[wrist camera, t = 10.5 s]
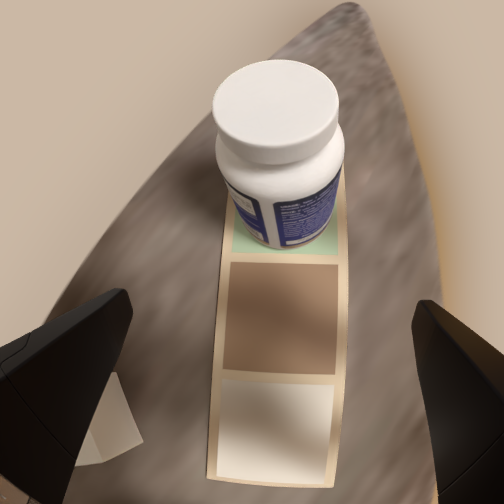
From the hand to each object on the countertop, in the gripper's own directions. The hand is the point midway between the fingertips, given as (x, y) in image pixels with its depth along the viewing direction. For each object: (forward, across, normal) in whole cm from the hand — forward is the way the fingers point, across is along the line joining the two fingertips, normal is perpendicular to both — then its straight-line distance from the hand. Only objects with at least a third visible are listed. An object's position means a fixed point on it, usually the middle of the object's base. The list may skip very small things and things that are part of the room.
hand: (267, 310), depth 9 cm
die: (+2, +12, +12) cm, 17 cm away
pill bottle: (+12, 0, +1) cm, 12 cm away
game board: (+7, 0, +6) cm, 9 cm away
